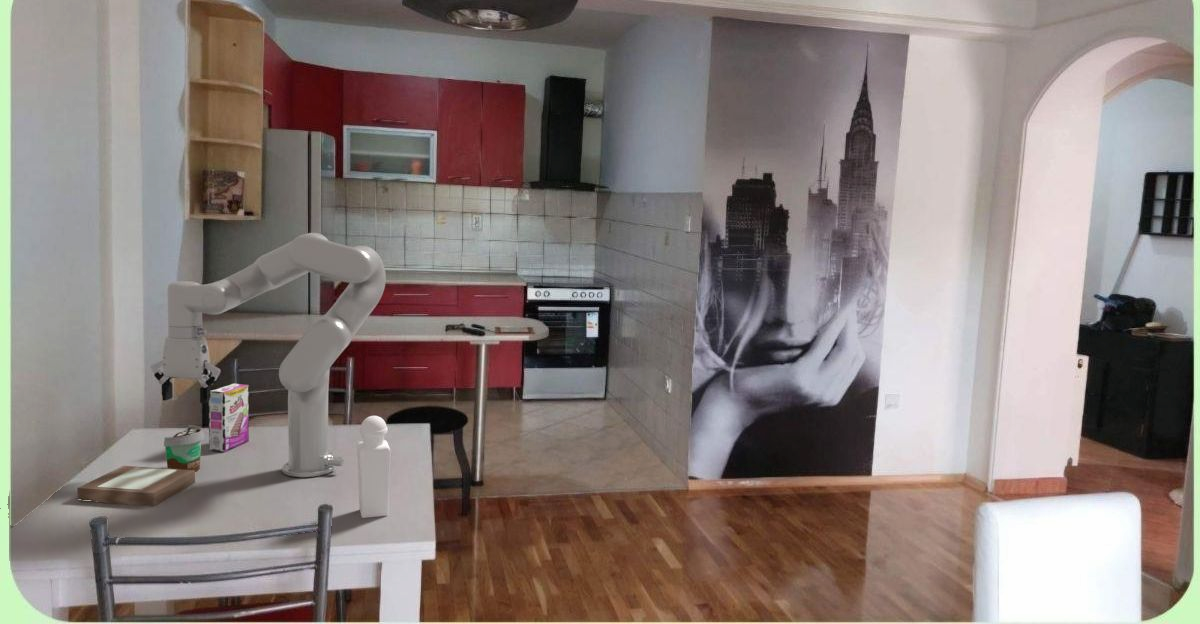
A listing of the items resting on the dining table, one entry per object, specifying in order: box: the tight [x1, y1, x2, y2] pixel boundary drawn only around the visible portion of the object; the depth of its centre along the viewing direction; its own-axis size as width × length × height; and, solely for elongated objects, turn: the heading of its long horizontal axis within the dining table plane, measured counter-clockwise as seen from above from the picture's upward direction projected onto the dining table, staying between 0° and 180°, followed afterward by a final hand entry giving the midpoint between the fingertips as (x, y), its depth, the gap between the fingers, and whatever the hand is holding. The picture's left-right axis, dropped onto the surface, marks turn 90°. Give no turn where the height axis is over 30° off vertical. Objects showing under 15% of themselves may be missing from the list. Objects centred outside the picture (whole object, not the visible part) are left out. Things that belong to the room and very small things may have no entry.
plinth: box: [76, 465, 196, 507], centre depth 197 cm, size 18×16×3 cm
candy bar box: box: [208, 383, 250, 453], centre depth 233 cm, size 11×5×16 cm, turn 169°
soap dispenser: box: [356, 415, 391, 519], centre depth 188 cm, size 6×6×22 cm
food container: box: [163, 424, 205, 473], centre depth 212 cm, size 12×6×10 cm, turn 179°
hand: (186, 400), depth 211 cm, fingers open, 9 cm apart
